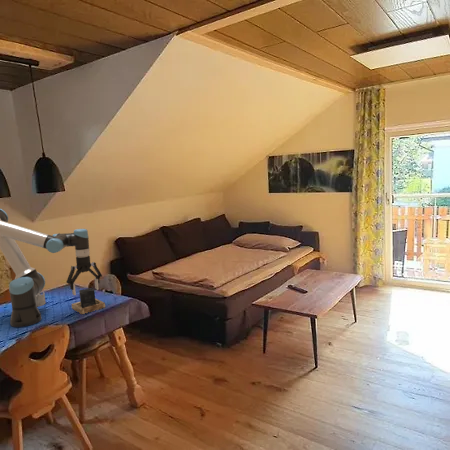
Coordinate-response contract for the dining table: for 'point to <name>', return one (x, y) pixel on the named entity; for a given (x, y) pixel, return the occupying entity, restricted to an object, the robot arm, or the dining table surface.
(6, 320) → the dining table surface
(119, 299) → the dining table surface
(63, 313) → the dining table surface
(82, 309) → the socket tray
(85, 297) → the box
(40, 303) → the engine component
